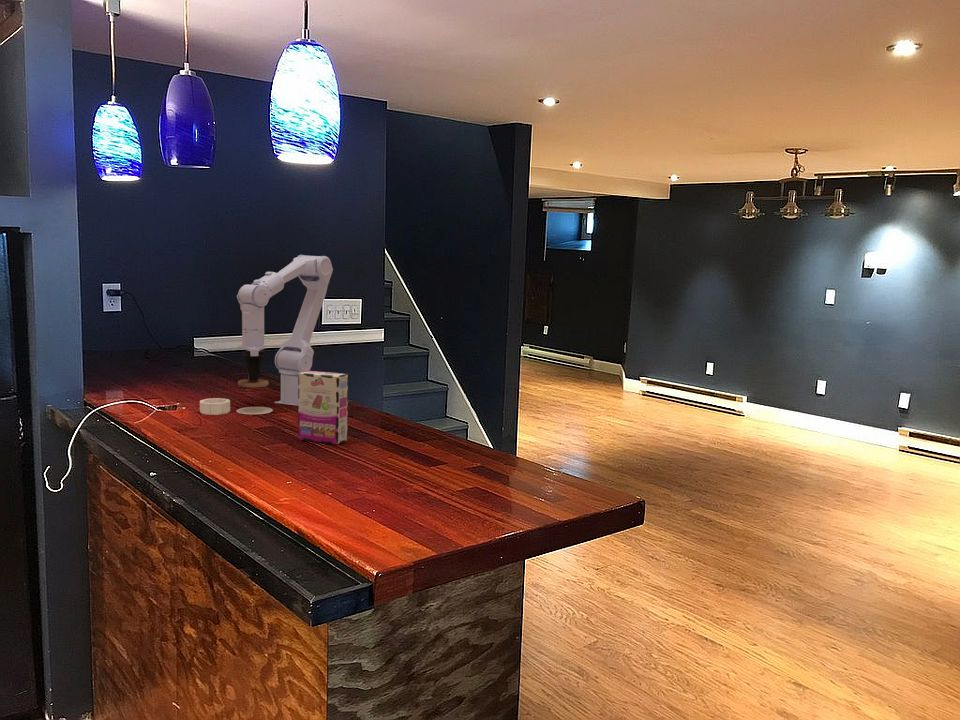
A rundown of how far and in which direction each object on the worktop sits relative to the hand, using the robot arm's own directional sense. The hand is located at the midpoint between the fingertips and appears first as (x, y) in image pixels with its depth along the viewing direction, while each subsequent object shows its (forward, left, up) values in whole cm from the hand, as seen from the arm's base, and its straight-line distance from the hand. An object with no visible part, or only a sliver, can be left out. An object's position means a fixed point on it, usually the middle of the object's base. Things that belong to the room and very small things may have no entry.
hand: (253, 378), depth 212 cm
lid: (0, 0, -2) cm, 2 cm away
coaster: (0, 0, -9) cm, 9 cm away
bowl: (+8, +6, -9) cm, 14 cm away
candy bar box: (-32, +16, -10) cm, 37 cm away
